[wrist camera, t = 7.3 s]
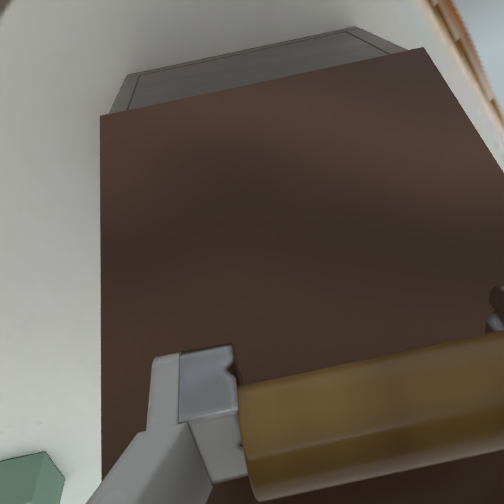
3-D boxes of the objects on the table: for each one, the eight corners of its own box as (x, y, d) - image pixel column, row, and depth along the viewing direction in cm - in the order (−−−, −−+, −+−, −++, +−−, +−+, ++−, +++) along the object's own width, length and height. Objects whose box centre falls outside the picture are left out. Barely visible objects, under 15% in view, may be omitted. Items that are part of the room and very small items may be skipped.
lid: (683, 497, 10) (960, 465, 6) (115, 620, 10) (-33, 682, 6) (419, 64, 18) (452, -82, 14) (107, 131, 18) (44, 5, 14)
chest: (365, 248, 33) (410, 322, 26) (192, 285, 33) (194, 368, 26) (356, 26, 25) (416, 53, 18) (126, 74, 25) (105, 119, 18)
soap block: (18, 489, 43) (2, 540, 40) (-5, 462, 41) (-24, 513, 37) (65, 478, 43) (54, 529, 40) (45, 451, 41) (31, 502, 37)
